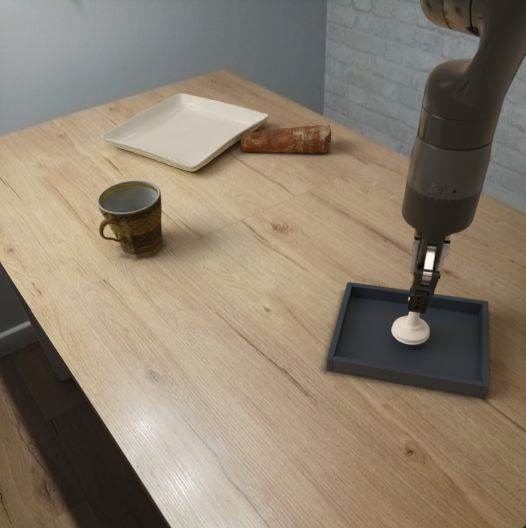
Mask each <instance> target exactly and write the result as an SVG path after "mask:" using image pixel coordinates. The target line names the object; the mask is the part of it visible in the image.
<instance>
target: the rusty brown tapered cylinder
mask: <svg viewBox="0 0 526 528" xmlns="http://www.w3.org/2000/svg"><path fill="white" fill-rule="evenodd" d="M331 140H332V129H331V126H330V124H317V125H316V124H315V125H305V126H294V127H284V128H276V129H265V130H260V131H253V132H252V133H246V134H244V135H243V136H242V138H241V140H240V148H241V150H242V151H243V152H245V153H263V154H324V153H328V152H329V146H330V143H331V142H332V141H331Z"/></svg>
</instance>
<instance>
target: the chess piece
mask: <svg viewBox="0 0 526 528" xmlns="http://www.w3.org/2000/svg"><path fill="white" fill-rule="evenodd" d="M409 298H410V297H409ZM408 300H409V299H408ZM419 315H420V313H416V312H409V314H408V316H403V317H400V318H398V319H397V320H396V321H395V322H394V323H393V326H392V334H393V336H394V337H395V338H396V339H397V340H398V341H400V342H402V343H405V344H409V345H417V344H421V343H423V342H425V341H426V340H427V339H428V338H429V334H430V333H429V332H430V329H429V326H428V324H427V323H426V322H425V321H424V320H422V319H420V318H419Z"/></svg>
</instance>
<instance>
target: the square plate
mask: <svg viewBox="0 0 526 528" xmlns="http://www.w3.org/2000/svg"><path fill="white" fill-rule="evenodd" d="M269 117H270V114H268V113H265V112H261V111H258V110H254V109H250V108H247V107H244V106H240V105H236V104H232V103H227V102H224V101H220V100H215V99H211V98H207V97H201V96H198V95H193V94H188V93H182V92H179V93H175V94H174V95H171V96H170V97H168V98H165V99H164V100H162V101H160V102H158V103H156V104H154V105H152V106H150V107H149V108H146V109H145V110H143V111H140V112H139V113H137V114H135V115H133V116H132V117H130V118H128V119H126V120H125V121H123V122H122V123H119V124H118V125H116V126H115V127H113V128H110V130H108V131H106V132H104V133H102V134H101V135H100V136H99V138H100V140H102V141H104V142H105V143H107V144H109V145H111V146H113V147H116V148H119V149H122V150H124V151H128V152H131V153H135V154H138V155H139V156H144V157H146V158H149V159H152V160H155V161H158V162H160V163H162V164H165V165H168V166H171V167H174V168H178V169H181V170H184V171H187V172H195V171H198V170H199V169H201V168H203V167H204V166H206V165H208V163H210V162H211V161H212V160H214V159H215V158H217V157H218V156H220V155H221V154H222V153H223V152H225V151H226V150H228V149H229V148H230V147H232V146H233V145H235V144H237V143H238V142H240V141H241V138H242V136H243V135H244V134H246V133H252V132H256V130H258V129H259V128H261V126H263V124H264V123H265V122H266V121H267V120H268V119H269Z"/></svg>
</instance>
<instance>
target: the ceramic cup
mask: <svg viewBox="0 0 526 528" xmlns="http://www.w3.org/2000/svg"><path fill="white" fill-rule="evenodd" d="M96 204H97V207H98V209H99V212H100V213H101V215H102V217H103V218H104V219H102V220H101V222H100V224H99V226H98V233H99V236H100V237H101V238H102V239H103V240H107V241H113V242H116V243H118V244H119V246H120V248H121V250H122V252H123V254H124V256H125V257H126V256H127V257H129V258H133V259H137V260H138V259H143V258H147V257H152V256H154V255H155V254H156V253H158V251H160V249H161V248H162V247H163V227H162V216H163V215H162V211H163V210H162V206H163V205H162V193H161V190H160V188H159V186H157V185H156V184H155V183H153V182H150V181H147V180H142V179H141V180H140V179H138V180H137V179H135V180H127V181H122V182H118V183H115V184H113V185H110V186H109V187H107V188H106V189H104V190H103V191H102V192H101V193H100V194H99V195H98V197H97V199H96ZM107 226H108V227H109V229H110V230H111V231H112V234H113V235H114V236H115V237H110V236H109V237H108V236H105V233H104V232H105V231H104V230H105V228H106V227H107Z"/></svg>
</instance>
